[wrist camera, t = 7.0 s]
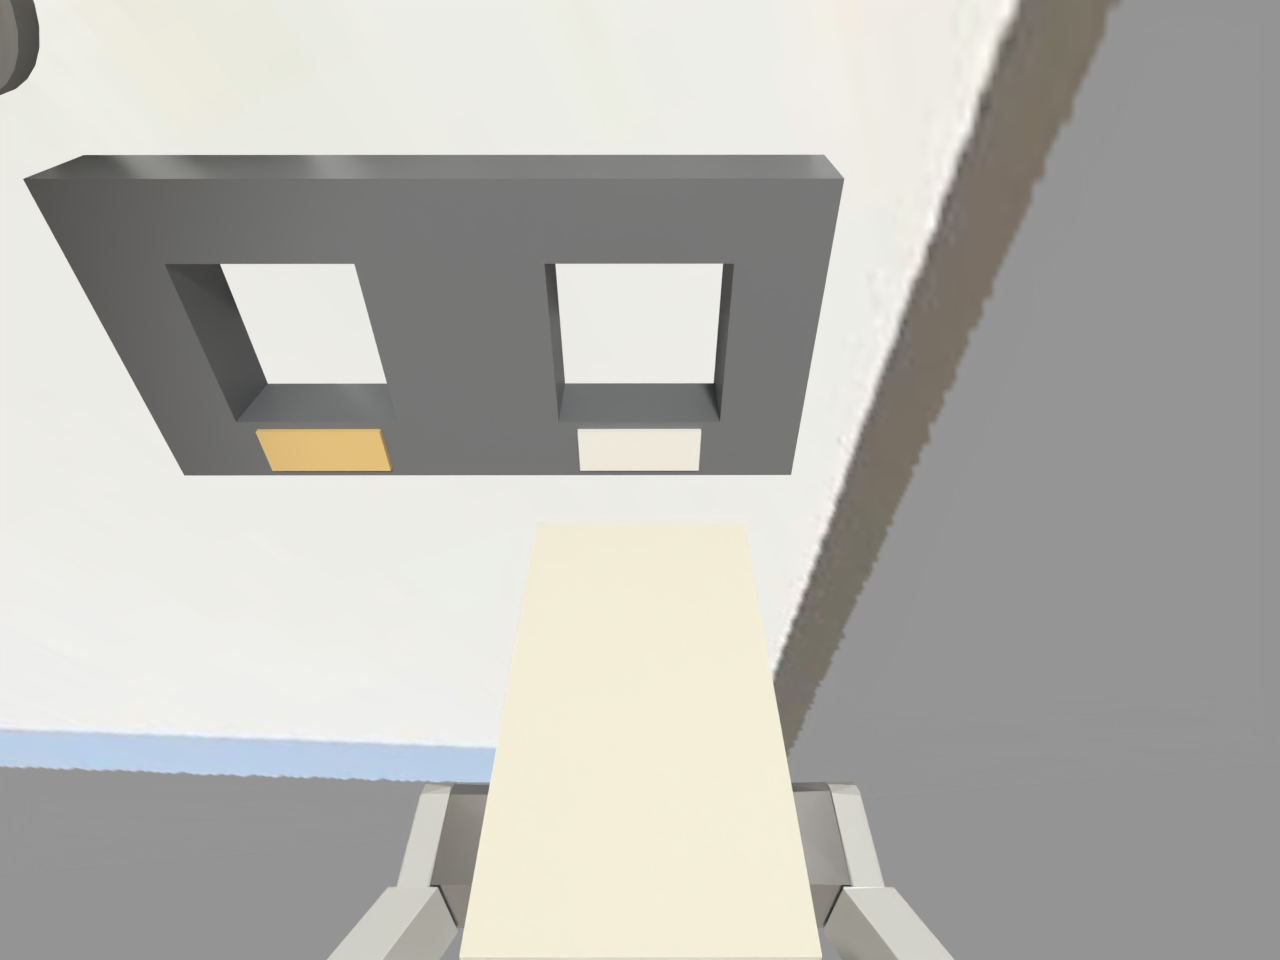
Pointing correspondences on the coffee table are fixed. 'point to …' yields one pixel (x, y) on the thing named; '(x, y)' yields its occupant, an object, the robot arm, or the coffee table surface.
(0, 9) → the travel mug
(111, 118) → the coffee table surface
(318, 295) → the coffee table surface
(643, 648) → the plug
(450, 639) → the coffee table surface
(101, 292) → the panel
